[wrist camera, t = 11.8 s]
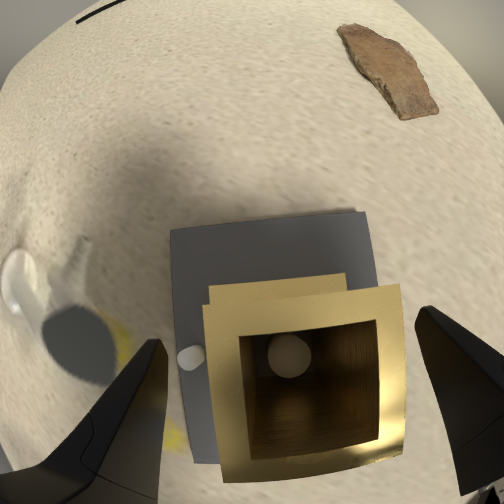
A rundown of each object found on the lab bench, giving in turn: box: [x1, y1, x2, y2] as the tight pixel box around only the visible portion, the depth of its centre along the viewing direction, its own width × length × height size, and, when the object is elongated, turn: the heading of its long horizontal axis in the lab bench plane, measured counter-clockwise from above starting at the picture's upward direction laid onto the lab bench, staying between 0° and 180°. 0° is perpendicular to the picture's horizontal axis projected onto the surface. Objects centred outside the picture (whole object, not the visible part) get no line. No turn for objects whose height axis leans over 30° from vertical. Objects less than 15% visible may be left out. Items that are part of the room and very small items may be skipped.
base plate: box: [170, 212, 378, 464], centre depth 15 cm, size 16×13×5 cm
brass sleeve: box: [202, 273, 406, 483], centre depth 11 cm, size 8×8×10 cm
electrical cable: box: [76, 0, 125, 24], centre depth 28 cm, size 12×1×1 cm, turn 113°
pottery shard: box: [337, 23, 439, 120], centre depth 22 cm, size 8×16×2 cm, turn 6°
